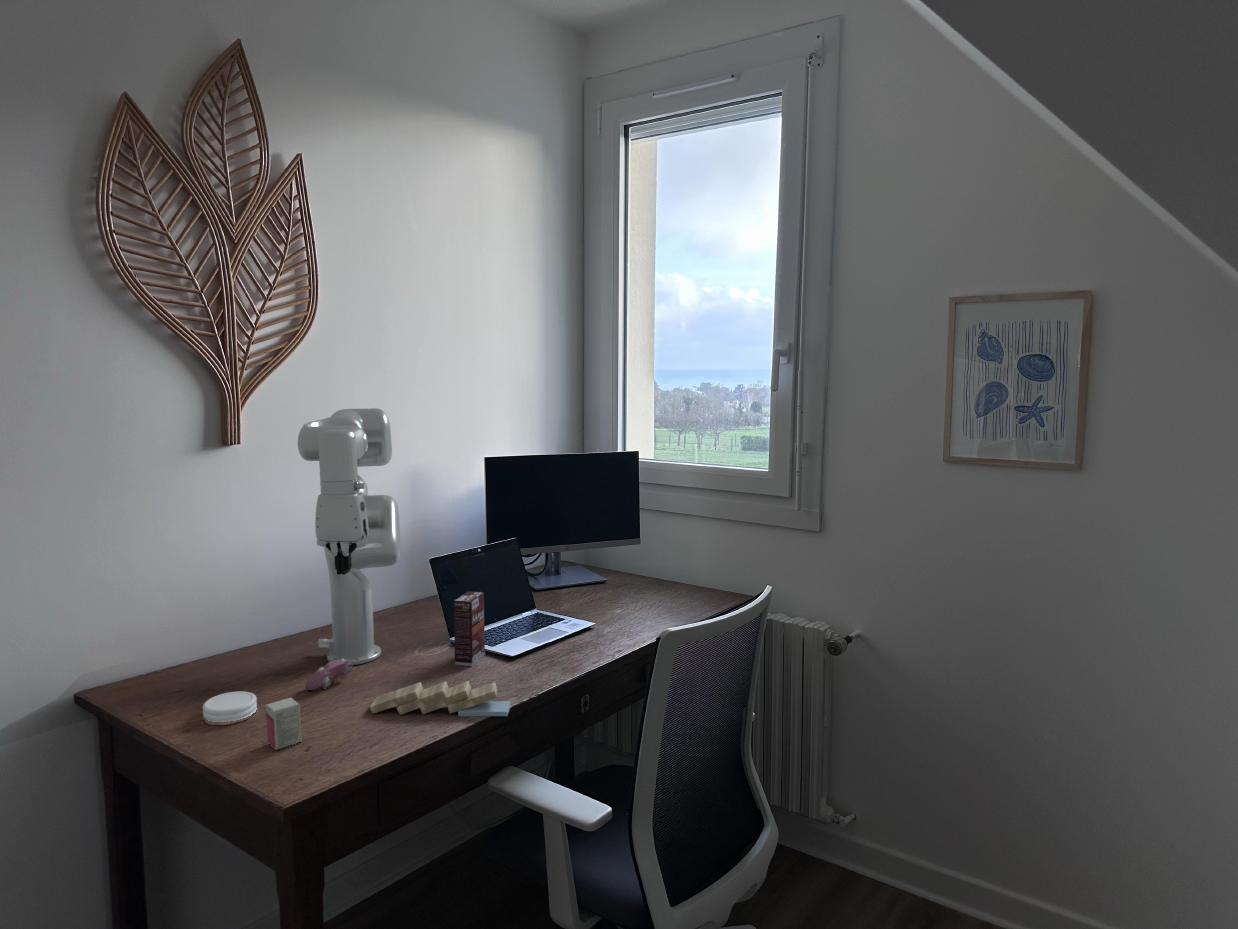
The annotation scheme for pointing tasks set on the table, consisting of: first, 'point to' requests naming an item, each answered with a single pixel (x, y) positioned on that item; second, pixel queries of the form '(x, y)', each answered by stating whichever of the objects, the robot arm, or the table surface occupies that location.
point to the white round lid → (230, 706)
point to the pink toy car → (329, 674)
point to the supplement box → (469, 628)
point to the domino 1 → (396, 698)
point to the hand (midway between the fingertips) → (343, 572)
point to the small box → (283, 723)
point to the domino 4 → (475, 698)
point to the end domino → (487, 709)
